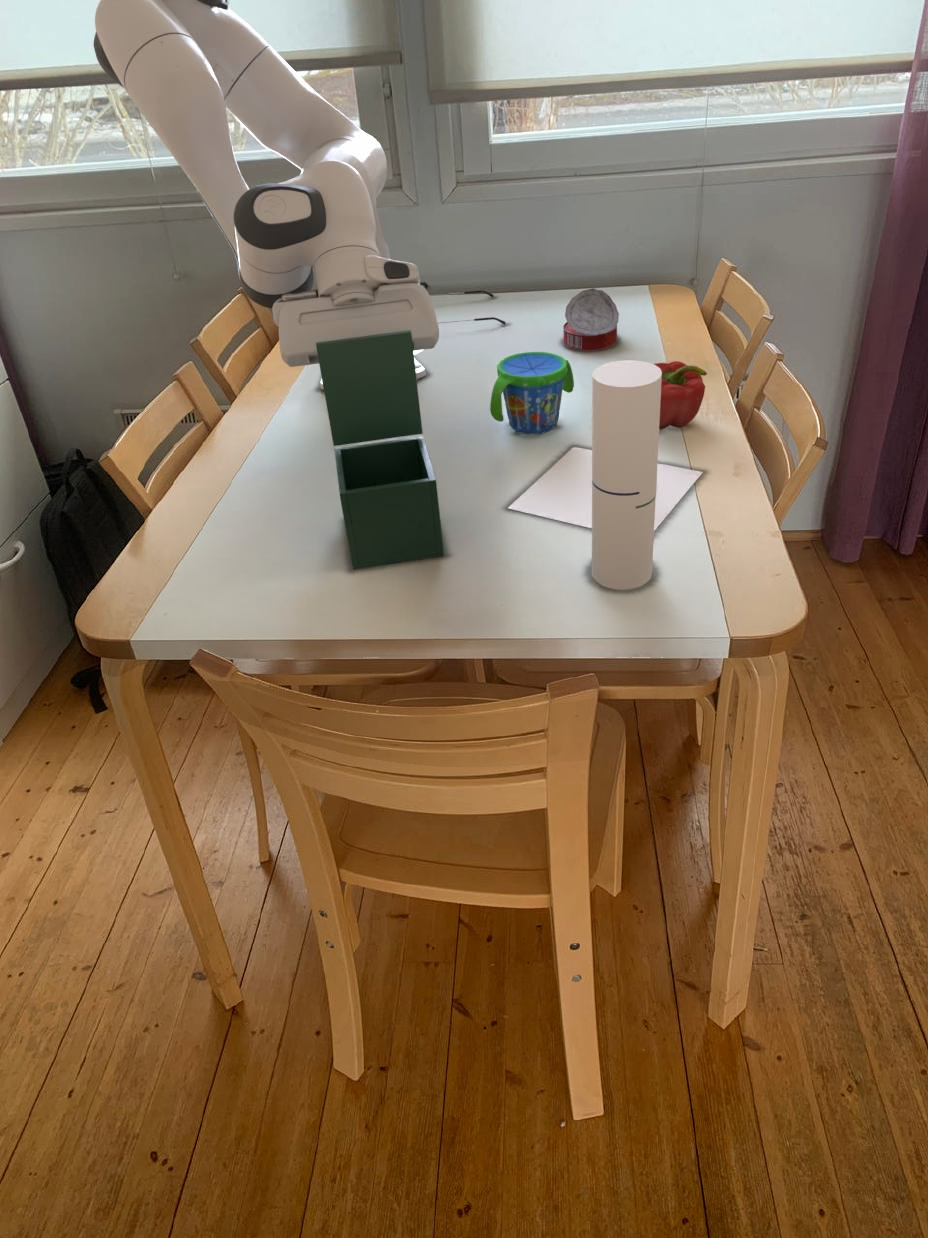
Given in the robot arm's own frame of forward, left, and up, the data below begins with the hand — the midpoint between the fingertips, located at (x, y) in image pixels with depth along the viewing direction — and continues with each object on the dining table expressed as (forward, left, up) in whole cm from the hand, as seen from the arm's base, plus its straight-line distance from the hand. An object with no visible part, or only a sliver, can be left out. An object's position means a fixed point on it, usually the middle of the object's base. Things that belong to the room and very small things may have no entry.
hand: (367, 387), depth 118 cm
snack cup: (-20, +25, -18) cm, 37 cm away
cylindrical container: (+23, +26, -18) cm, 40 cm away
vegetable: (-14, +45, -18) cm, 51 cm away
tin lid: (+1, 0, 0) cm, 2 cm away
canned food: (-52, +43, -18) cm, 70 cm away
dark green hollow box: (+7, 0, -18) cm, 19 cm away
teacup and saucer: (+3, +30, -18) cm, 36 cm away
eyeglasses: (-76, +21, -18) cm, 81 cm away
